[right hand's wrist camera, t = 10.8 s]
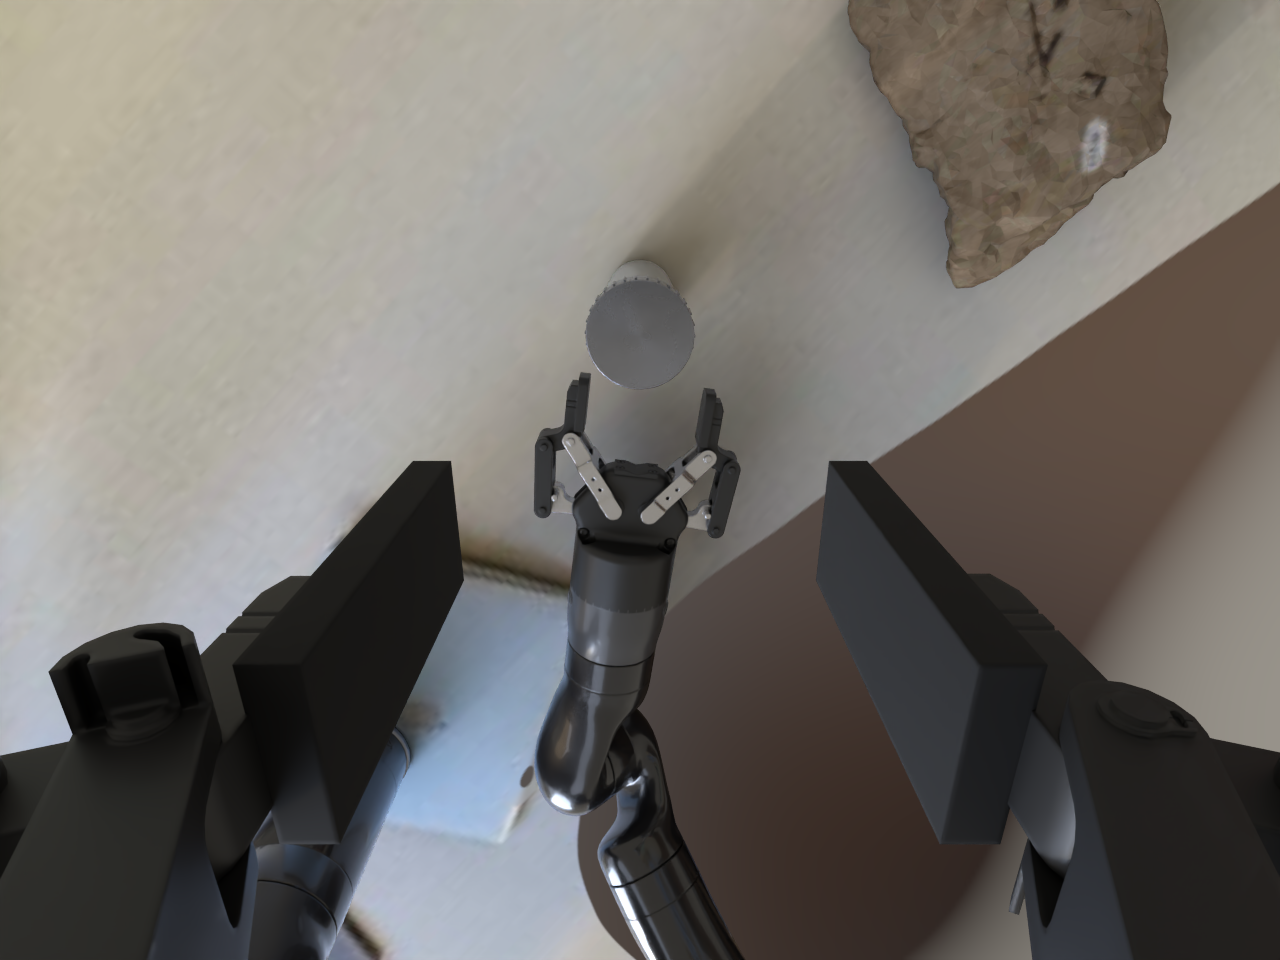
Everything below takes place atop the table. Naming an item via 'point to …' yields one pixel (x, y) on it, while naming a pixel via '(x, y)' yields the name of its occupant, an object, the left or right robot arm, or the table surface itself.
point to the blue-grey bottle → (639, 271)
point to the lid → (640, 332)
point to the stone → (1018, 109)
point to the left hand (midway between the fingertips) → (648, 383)
